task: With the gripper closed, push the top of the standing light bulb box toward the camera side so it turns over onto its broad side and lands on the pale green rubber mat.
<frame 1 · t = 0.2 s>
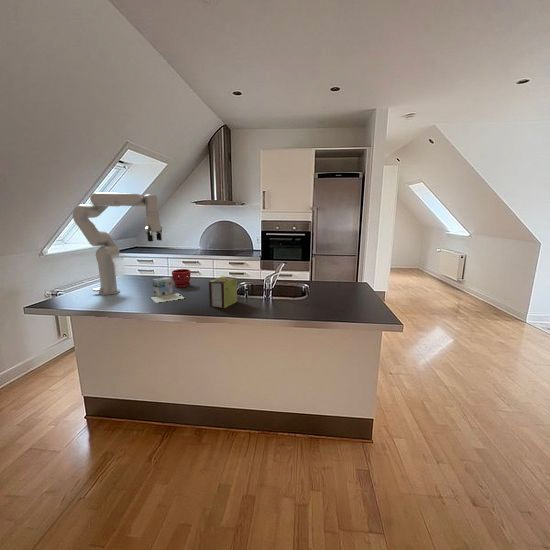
hand: (154, 240, 193), 36 cm above the table, tool pointing down, fingers open, 9 cm apart
light bulb box: (163, 294, 196), on the table, touching pale green mat
pale green mat: (167, 298, 188), on the table
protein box: (223, 304, 179), on the table
plant pot: (181, 286, 220), on the table
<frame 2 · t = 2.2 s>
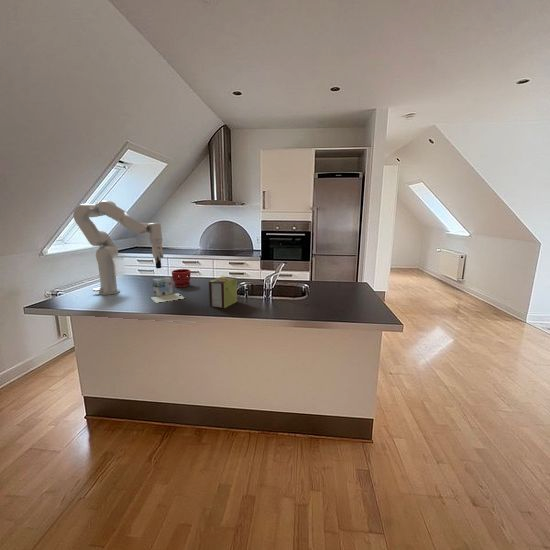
hand: (158, 268, 201), 17 cm above the table, tool pointing down, fingers closed
nothing on the table moved.
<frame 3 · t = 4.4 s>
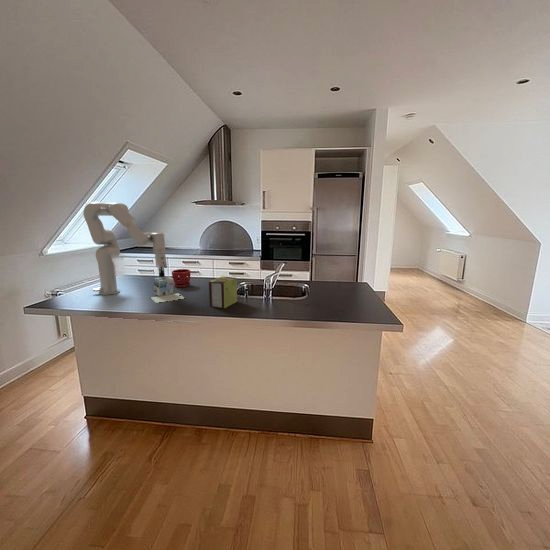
hand: (162, 278, 197), 11 cm above the table, tool pointing down, fingers closed
light bulb box: (163, 293, 196), point 1 cm above the table, touching pale green mat
everything else where it was.
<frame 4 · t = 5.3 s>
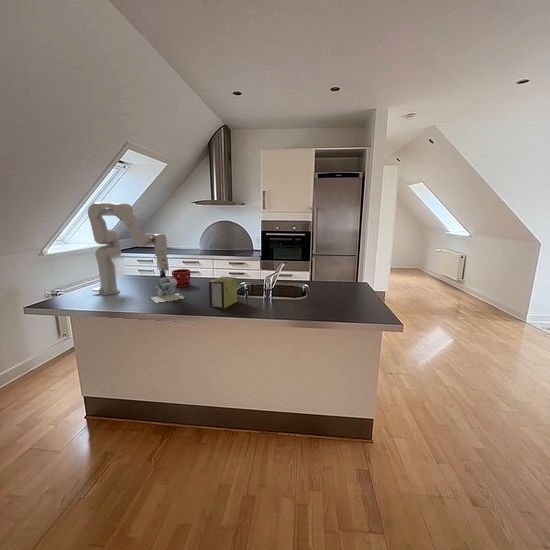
hand: (163, 280, 194), 10 cm above the table, tool pointing down, fingers closed
light bulb box: (163, 291, 195), point 2 cm above the table, touching gripper, pale green mat
everything else where it was.
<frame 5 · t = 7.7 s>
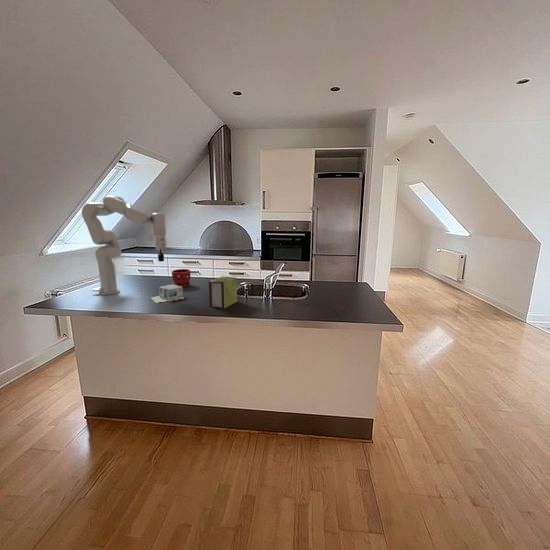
hand: (161, 261, 190), 23 cm above the table, tool pointing down, fingers closed
light bulb box: (165, 290, 194), point 4 cm above the table, touching pale green mat
everything else where it was.
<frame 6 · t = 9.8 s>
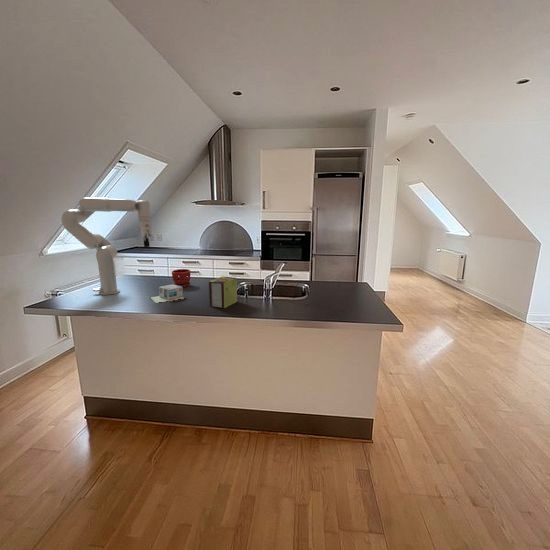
hand: (146, 246, 199), 31 cm above the table, tool pointing down, fingers closed
nothing on the table moved.
at the end: light bulb box tilted 91°; light bulb box inside the target area (5.0 cm from its centre), point 3.8 cm above the table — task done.
